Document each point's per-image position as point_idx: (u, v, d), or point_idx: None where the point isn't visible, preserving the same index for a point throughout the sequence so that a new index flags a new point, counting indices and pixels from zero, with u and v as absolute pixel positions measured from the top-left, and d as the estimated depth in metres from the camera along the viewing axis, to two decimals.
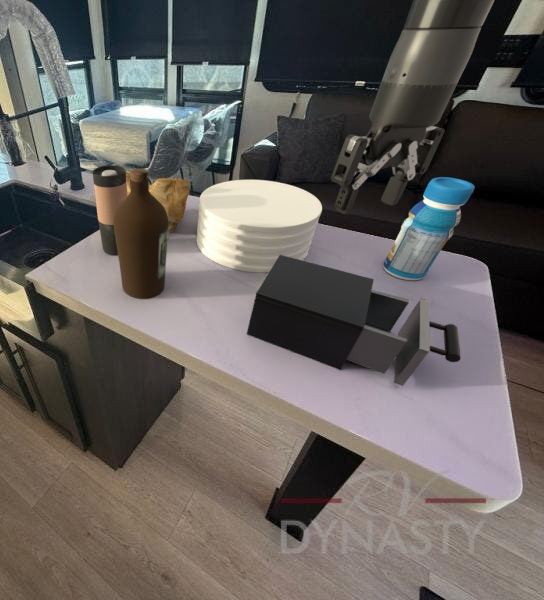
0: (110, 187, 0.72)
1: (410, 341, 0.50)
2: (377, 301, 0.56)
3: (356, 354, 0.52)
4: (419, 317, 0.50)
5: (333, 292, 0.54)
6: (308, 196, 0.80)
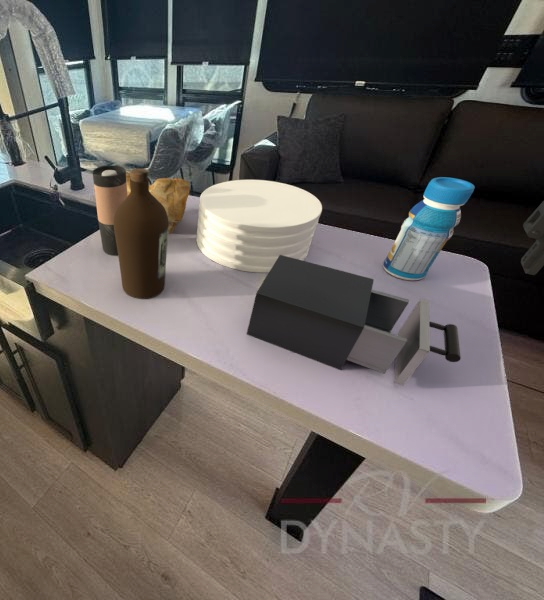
0: (110, 187, 0.72)
1: (410, 341, 0.50)
2: (377, 301, 0.56)
3: (356, 354, 0.52)
4: (419, 317, 0.50)
5: (333, 292, 0.54)
6: (308, 196, 0.80)
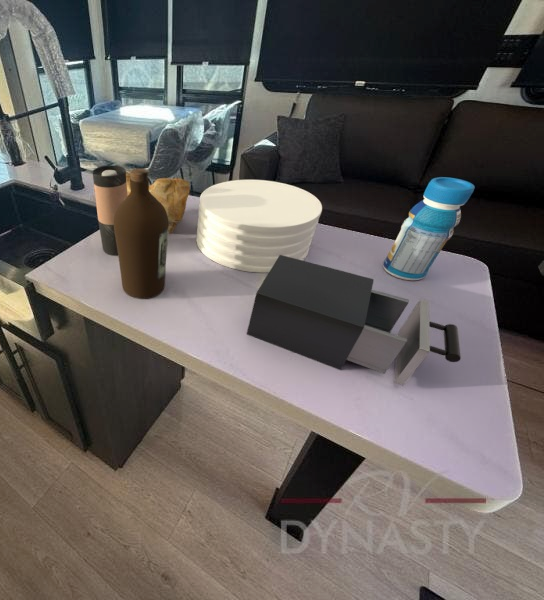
0: (110, 187, 0.72)
1: (410, 341, 0.50)
2: (377, 301, 0.56)
3: (356, 354, 0.52)
4: (419, 317, 0.50)
5: (333, 292, 0.54)
6: (308, 195, 0.80)
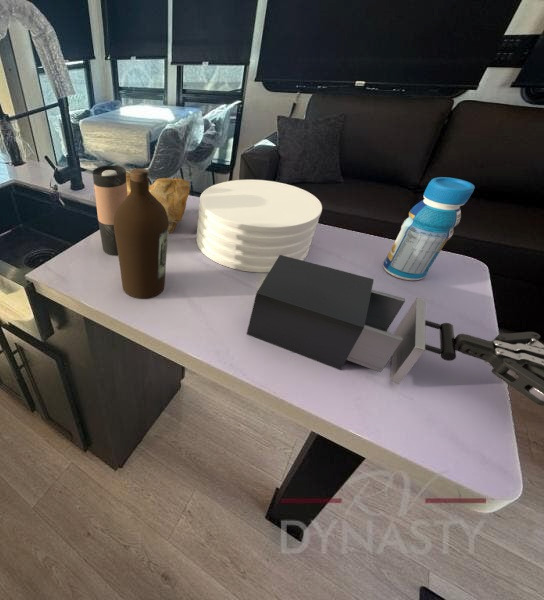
0: (110, 187, 0.72)
1: (406, 340, 0.50)
2: (373, 300, 0.56)
3: (352, 353, 0.52)
4: (415, 316, 0.50)
5: (333, 292, 0.54)
6: (308, 195, 0.80)
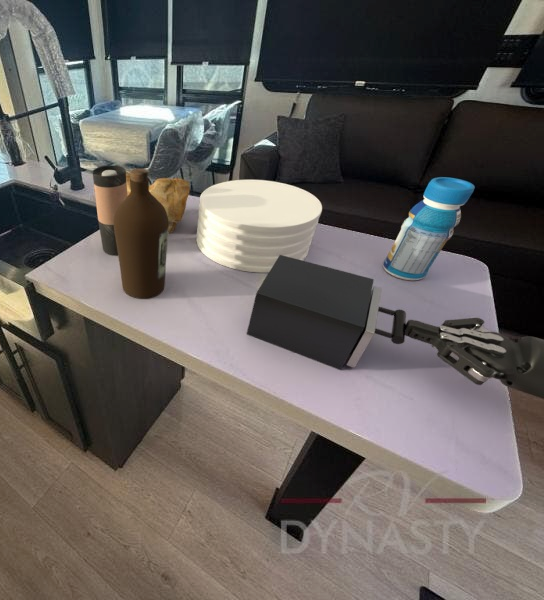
0: (110, 187, 0.72)
1: None
2: None
3: None
4: (370, 303, 0.53)
5: (333, 292, 0.54)
6: (308, 195, 0.80)
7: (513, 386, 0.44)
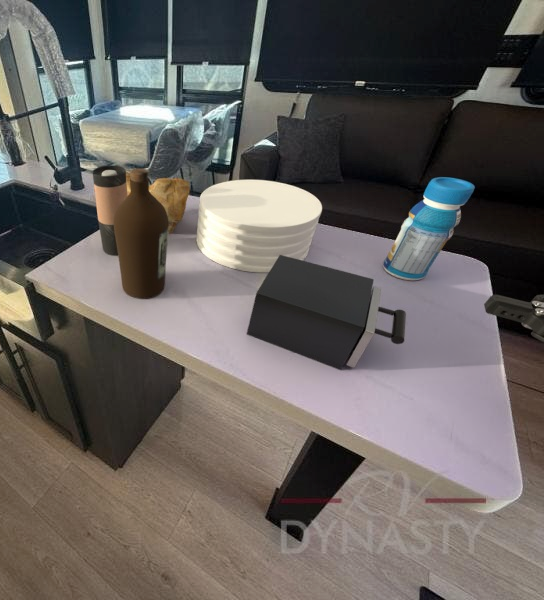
0: (110, 187, 0.72)
1: None
2: None
3: None
4: (370, 303, 0.53)
5: (333, 292, 0.54)
6: (308, 195, 0.80)
7: None
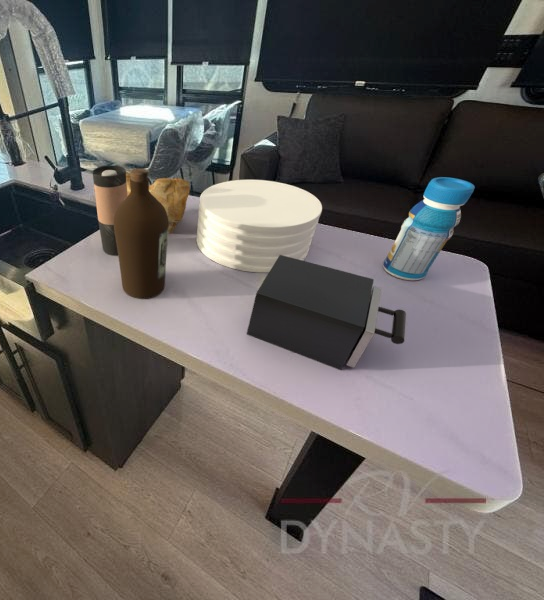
0: (110, 187, 0.72)
1: None
2: None
3: None
4: (370, 303, 0.53)
5: (333, 292, 0.54)
6: (308, 195, 0.80)
7: None
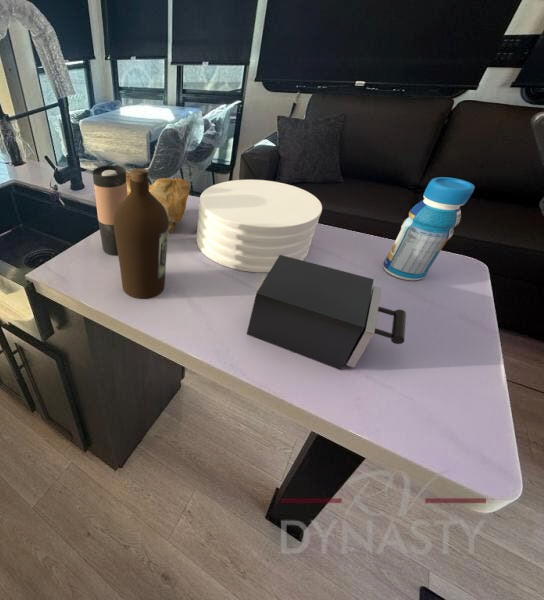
0: (110, 187, 0.72)
1: None
2: None
3: None
4: (370, 303, 0.53)
5: (333, 292, 0.54)
6: (308, 195, 0.80)
7: None
